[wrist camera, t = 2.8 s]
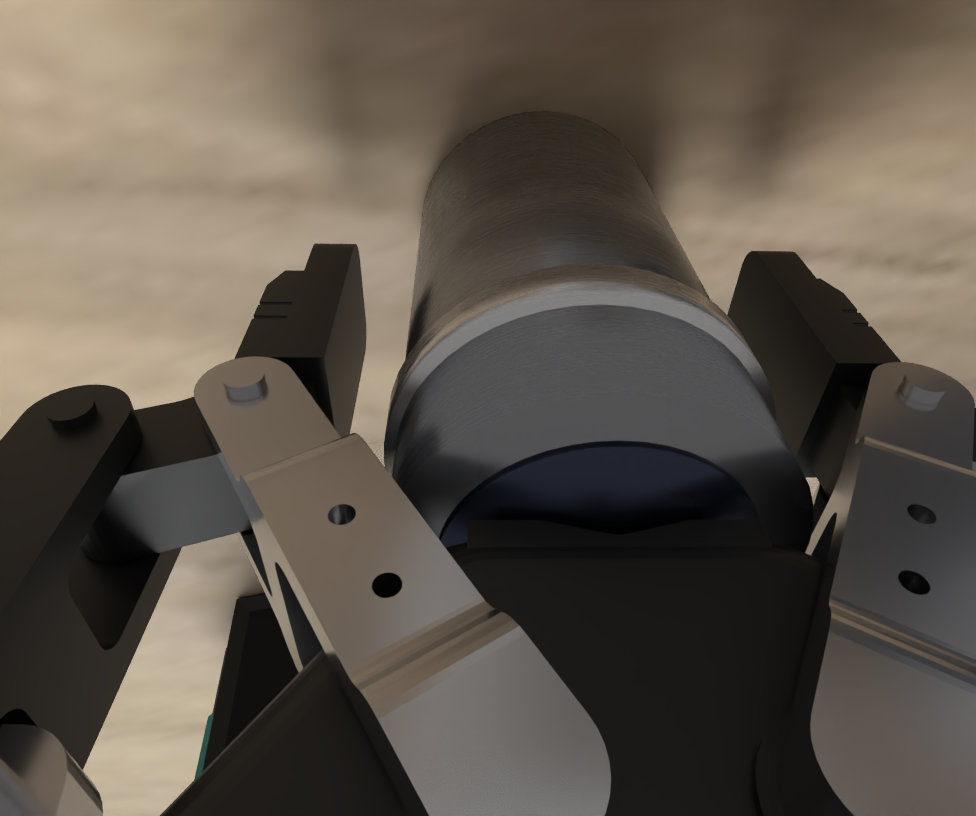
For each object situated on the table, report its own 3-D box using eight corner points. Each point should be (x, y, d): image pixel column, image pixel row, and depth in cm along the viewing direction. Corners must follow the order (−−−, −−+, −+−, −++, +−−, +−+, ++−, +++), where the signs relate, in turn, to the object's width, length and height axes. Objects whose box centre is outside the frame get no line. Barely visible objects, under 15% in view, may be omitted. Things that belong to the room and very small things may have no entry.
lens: (704, 232, 15) (909, 568, 8) (524, 368, 17) (565, 724, 10) (550, 41, 13) (656, 285, 6) (364, 228, 15) (274, 570, 8)
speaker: (207, 569, 22) (98, 996, 15) (390, 570, 23) (373, 978, 15) (239, 672, 27) (171, 1023, 20) (386, 670, 28) (372, 1008, 21)
